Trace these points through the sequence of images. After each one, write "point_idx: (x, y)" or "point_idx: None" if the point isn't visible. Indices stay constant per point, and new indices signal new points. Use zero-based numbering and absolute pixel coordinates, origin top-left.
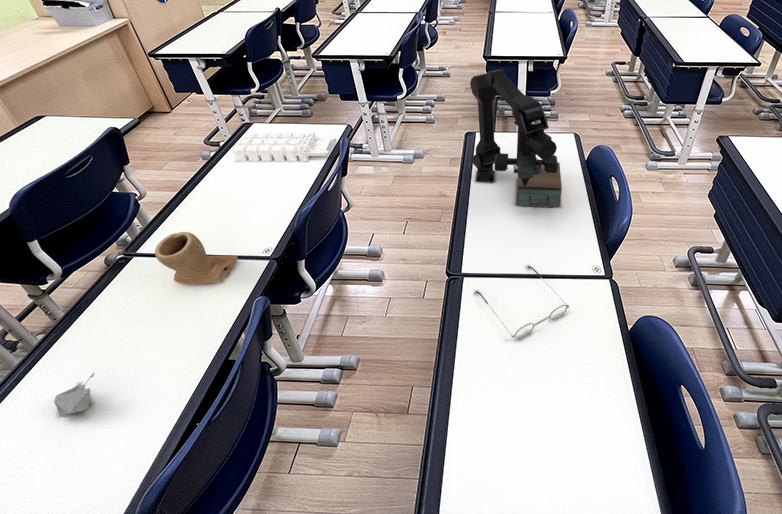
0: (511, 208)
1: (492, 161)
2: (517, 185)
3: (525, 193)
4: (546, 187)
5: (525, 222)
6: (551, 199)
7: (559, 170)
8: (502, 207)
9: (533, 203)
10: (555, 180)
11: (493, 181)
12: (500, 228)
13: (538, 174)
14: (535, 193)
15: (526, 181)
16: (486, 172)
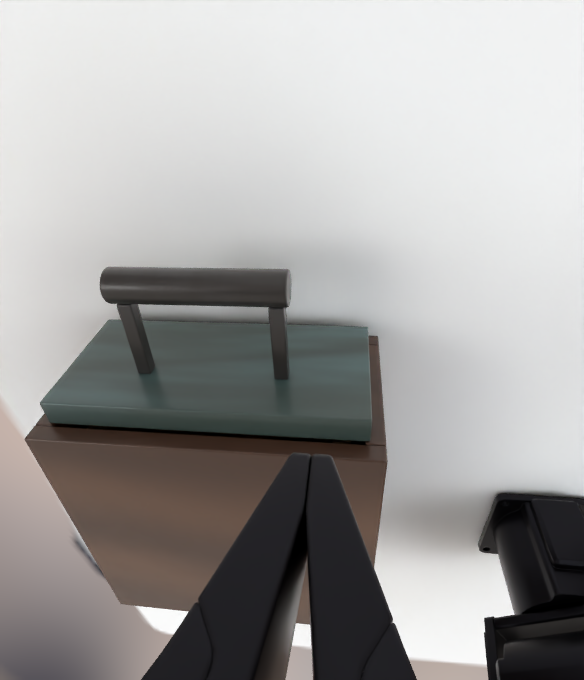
0: (414, 304)
1: (560, 658)
2: (384, 467)
3: (315, 397)
4: (140, 444)
5: (315, 162)
6: (128, 356)
7: (100, 562)
8: (478, 312)
9: (241, 293)
10: (95, 499)
11: (498, 496)
12: (544, 57)
13: (224, 546)
14: (233, 396)
15: (272, 537)
16: (568, 561)
